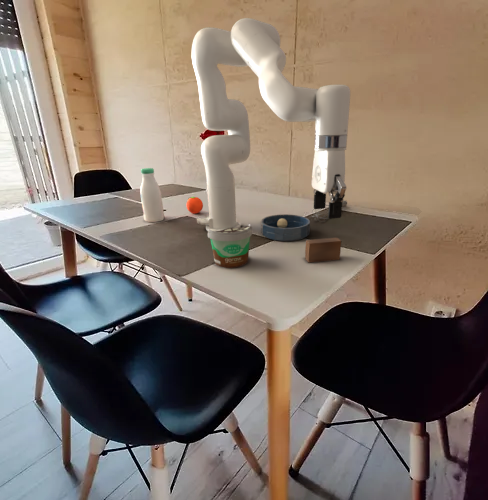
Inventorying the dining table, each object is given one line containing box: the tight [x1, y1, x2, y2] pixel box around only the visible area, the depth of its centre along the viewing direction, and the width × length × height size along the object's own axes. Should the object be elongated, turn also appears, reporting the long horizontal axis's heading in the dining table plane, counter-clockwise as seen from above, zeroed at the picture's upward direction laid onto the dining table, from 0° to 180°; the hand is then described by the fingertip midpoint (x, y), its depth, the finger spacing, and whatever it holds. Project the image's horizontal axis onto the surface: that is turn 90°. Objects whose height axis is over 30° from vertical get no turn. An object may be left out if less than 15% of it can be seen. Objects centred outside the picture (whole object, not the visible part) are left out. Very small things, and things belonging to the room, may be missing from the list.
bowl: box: [260, 214, 311, 242], centre depth 105 cm, size 16×16×4 cm
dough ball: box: [277, 219, 287, 228], centre depth 109 cm, size 4×4×4 cm
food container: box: [207, 223, 254, 269], centre depth 82 cm, size 12×6×10 cm, turn 114°
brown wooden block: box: [304, 237, 342, 263], centre depth 85 cm, size 9×3×6 cm, turn 101°
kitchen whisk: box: [311, 199, 348, 223], centre depth 126 cm, size 6×34×6 cm, turn 146°
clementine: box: [186, 196, 204, 214], centre depth 132 cm, size 8×7×7 cm
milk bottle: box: [139, 167, 165, 223], centre depth 121 cm, size 8×8×20 cm
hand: (326, 213), depth 81 cm, fingers open, 9 cm apart
